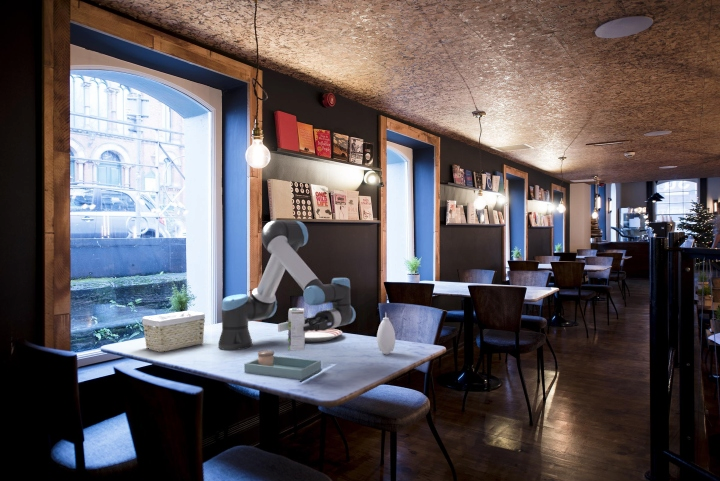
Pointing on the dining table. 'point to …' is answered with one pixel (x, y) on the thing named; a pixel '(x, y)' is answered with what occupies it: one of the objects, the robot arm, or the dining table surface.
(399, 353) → the dining table surface
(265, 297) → the robot arm
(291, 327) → the syrup box
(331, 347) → the dining table surface
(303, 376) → the tray
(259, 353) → the jar
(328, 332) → the dinner plate
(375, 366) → the dining table surface
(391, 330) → the air blower bulb
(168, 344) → the storage basket
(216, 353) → the dining table surface
